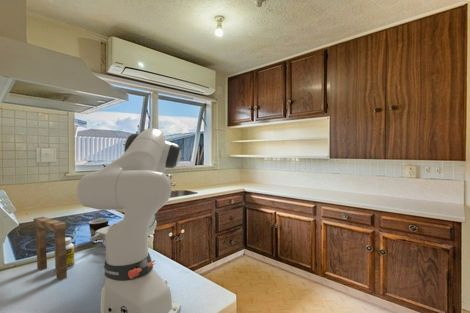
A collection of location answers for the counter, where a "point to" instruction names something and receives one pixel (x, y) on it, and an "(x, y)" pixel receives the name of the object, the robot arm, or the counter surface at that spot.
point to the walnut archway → (60, 244)
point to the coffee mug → (97, 225)
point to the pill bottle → (68, 253)
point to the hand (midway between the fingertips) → (96, 241)
